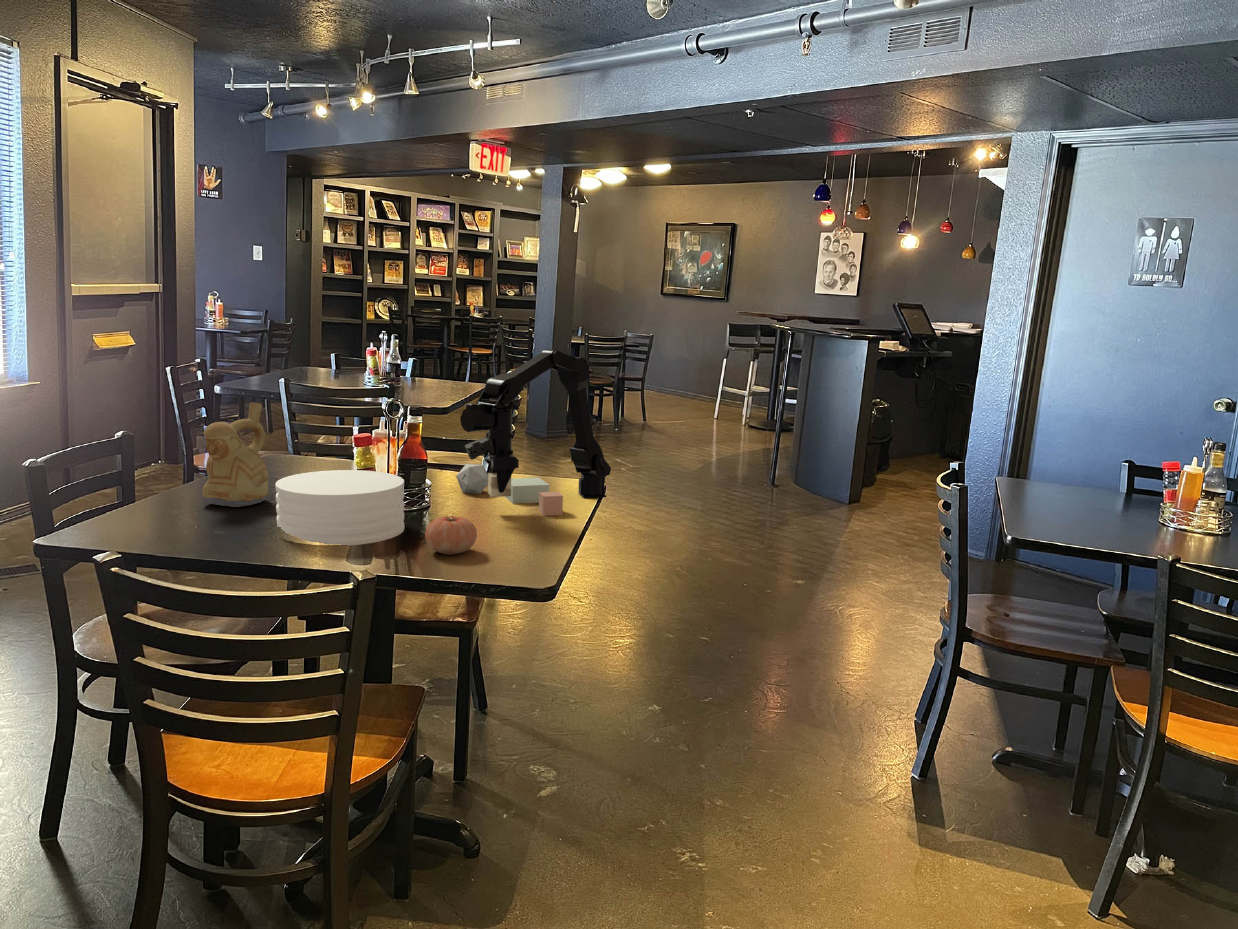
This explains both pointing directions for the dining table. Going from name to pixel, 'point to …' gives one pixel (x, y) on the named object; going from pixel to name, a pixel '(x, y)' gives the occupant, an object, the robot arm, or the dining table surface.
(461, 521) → the pumpkin
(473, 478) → the die
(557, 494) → the terracotta cube
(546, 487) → the sage block
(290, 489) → the plate stack
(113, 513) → the dining table surface
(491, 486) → the birch cube
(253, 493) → the ceramic vessel
